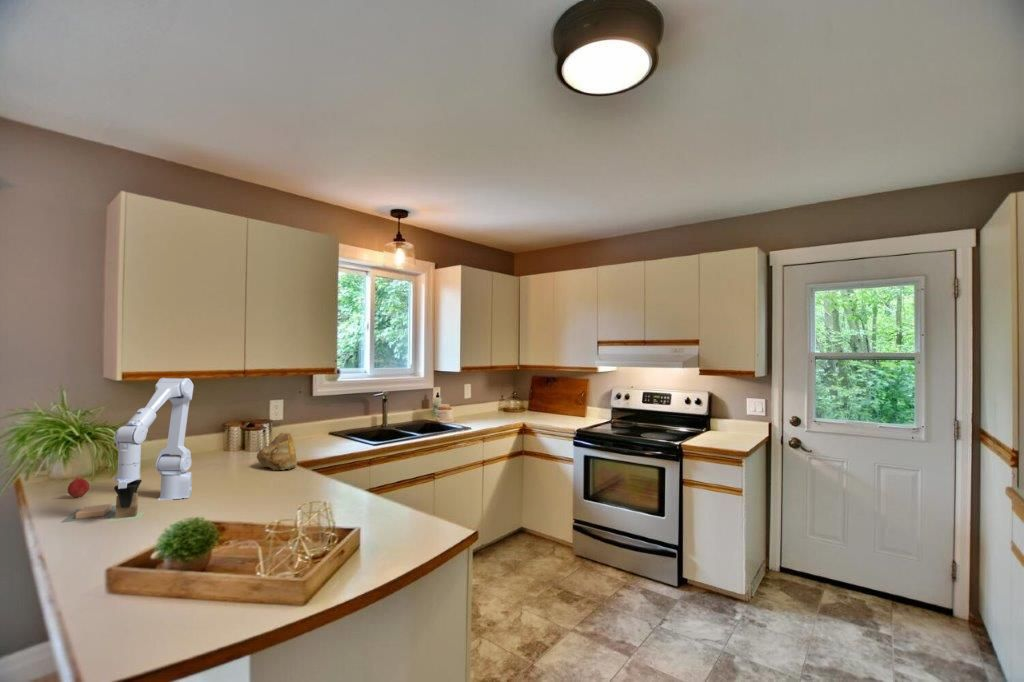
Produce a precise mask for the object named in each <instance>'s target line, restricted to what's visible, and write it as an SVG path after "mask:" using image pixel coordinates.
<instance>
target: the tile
mask: <svg viewBox="0 0 1024 682" xmlns="http://www.w3.org/2000/svg"><path fill="white" fill-rule="evenodd" d="M112 506H113V503H105V504H95V505H86V506H85V505H84V506H83V507H82V508H80V509H81V510H80V511H79V512H77V513H76V519H79V518H88V517H98V516H104V515H105V514H106V513H107V512H109V511H110V510H111V509H112Z"/></svg>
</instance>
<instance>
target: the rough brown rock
mask: <svg viewBox="0 0 1024 682" xmlns="http://www.w3.org/2000/svg"><path fill="white" fill-rule="evenodd" d="M295 448H296V447H295V439H294V437H293V435H292V433H290V432H285V433H284V432H280V433H279V434H278V435H277V436H276V437H275V438H274V439H273V440H272V441H271V442H270V444H269V445H267V446H265V447H263V448H261V449H260V450H259V451H258V452H257V455H256V460H257V461H258V462H259V463H260V465H261V466H262V467H263V466H264V467H263V468H269V469H271V470H273V471H275V470H278V471H280V470H281V471H286V470H285V469H288V470H291V468H292V469H294V468H296V466H298V463H297V462H298V461H297V454H296V453H297V452H296V449H295Z"/></svg>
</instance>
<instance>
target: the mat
mask: <svg viewBox="0 0 1024 682" xmlns="http://www.w3.org/2000/svg"><path fill="white" fill-rule="evenodd" d="M81 509H82V508H77V509H76V510H74V511H73V512H72V513H70V515H67V517H66V518H64V519H63V520H61V522H60V523H71V522H79V521H87V520H98V519H107V518H108V519H110V518H112V517H114V516H115V515H116V505H112V509H111V510H110V511H109V512H107V513H106V514H105V515H104V516H98V517H88V518H79V519H76V513H77V512H79V511H80V510H81Z"/></svg>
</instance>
